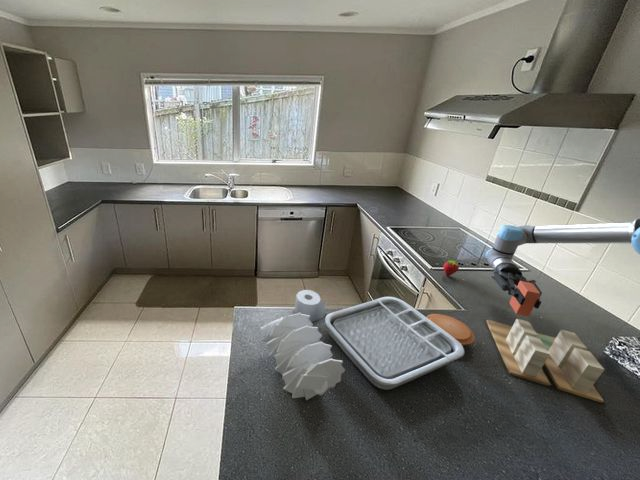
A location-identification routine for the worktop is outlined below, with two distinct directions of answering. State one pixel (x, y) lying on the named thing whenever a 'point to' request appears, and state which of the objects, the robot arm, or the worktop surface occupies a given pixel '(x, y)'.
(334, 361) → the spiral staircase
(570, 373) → the cubes on wooden plank
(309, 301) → the toilet tissue
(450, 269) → the strawberry
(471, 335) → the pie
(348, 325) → the dish rack
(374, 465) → the worktop surface
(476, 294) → the worktop surface
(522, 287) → the red rectangular block
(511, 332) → the wooden base with cubes
